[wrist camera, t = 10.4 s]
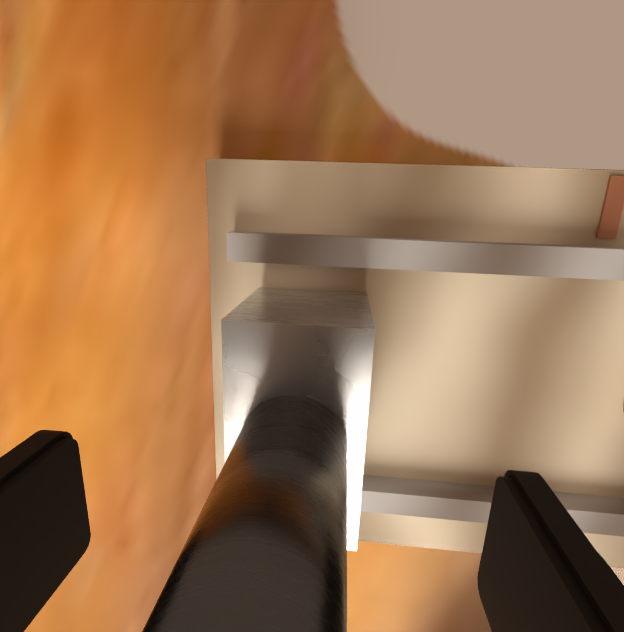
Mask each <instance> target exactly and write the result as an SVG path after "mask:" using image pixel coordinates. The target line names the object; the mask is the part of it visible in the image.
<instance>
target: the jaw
mask: <svg viewBox="0 0 624 632" xmlns="http://www.w3.org/2000/svg"><path fill="white" fill-rule="evenodd" d="M221 335H222V373H223V411H224V449H225V464H224V466H223V468H222V470H221V472H220V474H219V476H218V478H217V480H216V482H215V484H214V486H213V488H212V490H211V492H210V494H209V496H208V499H207V501H206V503H205V505H204V507H203V509H202V511H201V513H200V515H199V517H198V519H197V521H196V523H195V525H194V527H193V529H192V531H191V533H190V535H189V537H188V539H187V541H186V543H185V545H184V548H183V550H182V552H181V554H180V556H179V558H178V560H177V562H176V564H175V566H174V568H173V570H172V572H171V574H170V576H169V578H168V580H167V582H166V584H165V586H164V588H163V590H162V592H161V595H160V597H159V599H158V601H157V603H156V605H155V607H154V609H153V611H152V613H151V615H150V617H149V619H148V621H147V623H146V625H145V627H144V629H143V631H142V632H347V550H350V551H357V543H358V531H359V519H360V507H361V495H362V483H363V471H364V459H365V447H366V435H367V423H368V411H369V399H370V387H371V375H372V363H373V351H374V339H375V326H374V322H373V317H372V313H371V309H370V305H369V300H368V296H367V293H363V292H344V291H325V290H307V289H288V288H269V287H259V288H258V289H257V290H256V291H254V292H253V293H252V294H251V295H250V296H248V297H247V298H246V299H245V300H244V301H243V302H241V303H240V304H239V305H238V306H237V307H236V308H234V309H233V310H232V311H231V312H230V313H229V314H227V315H226V316H225V317H224V318H223V319H221Z"/></svg>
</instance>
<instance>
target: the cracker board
mask: <svg viewBox="0 0 624 632" xmlns="http://www.w3.org/2000/svg"><path fill="white" fill-rule="evenodd" d="M206 176H207V206H208V236H209V266H210V296H211V327H212V357H213V387H214V417H215V447H216V477H217V478H218V476H219V474H220V472H221V470H222V468H223V466H224V464H225V449H224V411H223V373H222V335H221V319H223V318H224V317H225V316H226V315H227V314H229V313H230V312H231V311H232V310H233V309H234V308H236V307H237V306H238V305H239V304H240V303H241V302H243V301H244V300H245V299H246V298H247V297H248V296H250V295H251V294H252V293H253V292H254V291H256V290H257V289H258V288H259V287H269V288H288V289H307V290H325V291H344V292H363V293H367V296H368V300H369V305H370V309H371V313H372V317H373V322H374V326H375V339H374V351H373V363H372V375H371V387H370V399H369V411H368V423H367V435H366V447H365V459H364V471H363V483H362V495H361V507H360V519H359V531H358V541H364V542H374V543H384V544H394V545H403V546H413V547H423V548H433V549H442V550H452V551H462V552H472V553H481V554H482V551H483V545H484V540H485V535H486V530H487V524H488V519H489V514H490V509H491V503H492V498H493V493H494V487H495V482H496V479H497V478H498V477H499V476H502V477H504V475H505V473H506V471H508V470H517V471H528V472H537V473H539V474H540V475H541V476H542V477H543V479H544V480H545V481H546V483H547V484H548V485H549V487H550V488H551V489H552V491H553V492H554V494H555V495H556V496H557V498H558V499H559V500H560V502H561V503H562V504H563V506H564V507H565V509H566V510H567V511H568V513H569V514H570V515H571V517H572V518H573V519H574V521H575V522H576V524H577V525H578V526H579V528H580V529H581V530H582V532H583V533H584V534H585V536H586V537H587V538H588V540H589V541H590V543H591V544H592V545H593V547H594V548H595V549H596V551H597V552H598V553H599V554H600V555H601V556H602V557H603V558H604V560H605V561H606V562H607V564H608V565H609V566H610V567H618V568H624V412H623V403H624V170H604V169H603V170H601V169H568V168H566V169H565V168H532V167H497V166H461V165H426V164H390V163H355V162H319V161H283V160H248V159H212V158H206Z"/></svg>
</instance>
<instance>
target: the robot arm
mask: <svg viewBox="0 0 624 632" xmlns="http://www.w3.org/2000/svg"><path fill="white" fill-rule="evenodd" d="M90 537H91V533H90V526H89V519H88V511H87V504H86V497H85V490H84V483H83V476H82V468H81V461H80V454H79V447H78V443H77V441H76V440H74V439H73V438H72V435H71V434H70V433H68V432H63V431H51V430H40V431H38V432H36V433H35V434H33V435H32V436H30V437H29V438H28V439H26V440H25V441H23V442H22V443H20V444H19V445H18V446H16V447H15V448H13V449H12V450H11V451H9V452H8V453H6V454H5V455H4V456H2V457H1V458H0V632H24V631H25V629H26V628H27V627H28V625H29V624H30V623H31V622H32V620H33V619H34V618H35V616H36V615H37V614H38V612H39V611H40V610H41V609H42V607H43V606H44V605H45V603H46V602H47V601H48V600H49V598H50V597H51V596H52V594H53V593H54V592H55V590H56V589H57V588H58V587H59V585H60V584H61V583H62V581H63V580H64V579H65V578H66V576H67V575H68V574H69V572H70V571H71V570H72V568H73V567H74V566H75V565H76V563H77V562H78V561H79V559H80V558H81V557H82V555H83V554H84V553H85V551H86V549H87V547H88V545H89V542H90ZM478 590H479V594H480V598H481V601H482V604H483V607H484V610H485V613H486V615H487V618H488V621H489V624H490V627H491V630H492V632H624V585H623V584H622V583H621V581H620V580H619V579H618V577H617V576H616V574H615V573H614V572H613V570H612V569H611V568H610V566H609V565H608V564H607V562H606V561H605V560H604V558H603V557H602V556H601V555H600V554H599V553H598V552H597V551H596V549H595V548H594V547H593V545H592V544H591V543H590V541H589V540H588V538H587V537H586V536H585V534H584V533H583V532H582V530H581V529H580V528H579V526H578V525H577V524H576V522H575V521H574V519H573V518H572V517H571V515H570V514H569V513H568V511H567V510H566V509H565V507H564V506H563V504H562V503H561V502H560V500H559V499H558V498H557V496H556V495H555V494H554V492H553V491H552V489H551V488H550V487H549V485H548V484H547V483H546V481H545V480H544V479H543V477H542V476H541V475H540V474H539V473H537V472H528V471H517V470H508V471H506V473H505V475H504V477H502V476H499V477H498V478H497V479H496V482H495V487H494V493H493V498H492V503H491V509H490V514H489V519H488V524H487V530H486V535H485V540H484V545H483V551H482V556H481V561H480V567H479V572H478Z"/></svg>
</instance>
